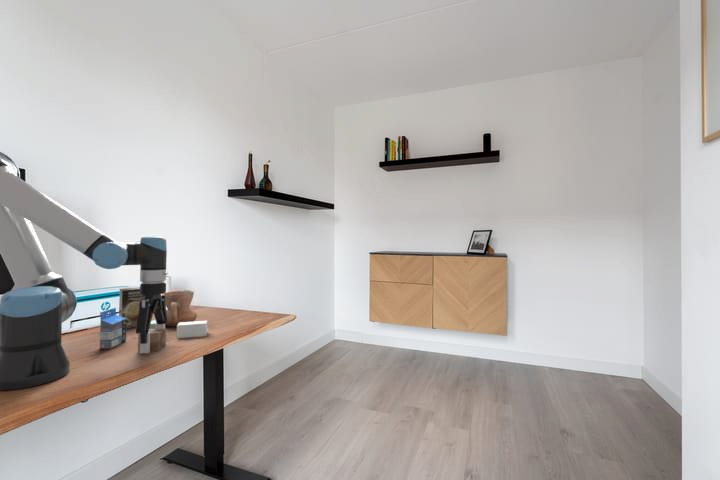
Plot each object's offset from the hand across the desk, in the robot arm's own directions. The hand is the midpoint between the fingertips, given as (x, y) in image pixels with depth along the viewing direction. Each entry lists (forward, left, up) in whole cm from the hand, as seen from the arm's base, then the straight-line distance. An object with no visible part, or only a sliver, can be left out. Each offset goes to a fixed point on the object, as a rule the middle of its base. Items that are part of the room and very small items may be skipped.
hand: (152, 347), depth 112 cm
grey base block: (+15, -8, -1) cm, 17 cm away
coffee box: (+34, +22, -1) cm, 41 cm away
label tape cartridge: (+6, +15, -1) cm, 16 cm away
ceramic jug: (+34, +4, -1) cm, 34 cm away
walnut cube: (0, 0, 0) cm, 0 cm away
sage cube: (+14, +5, 0) cm, 15 cm away
